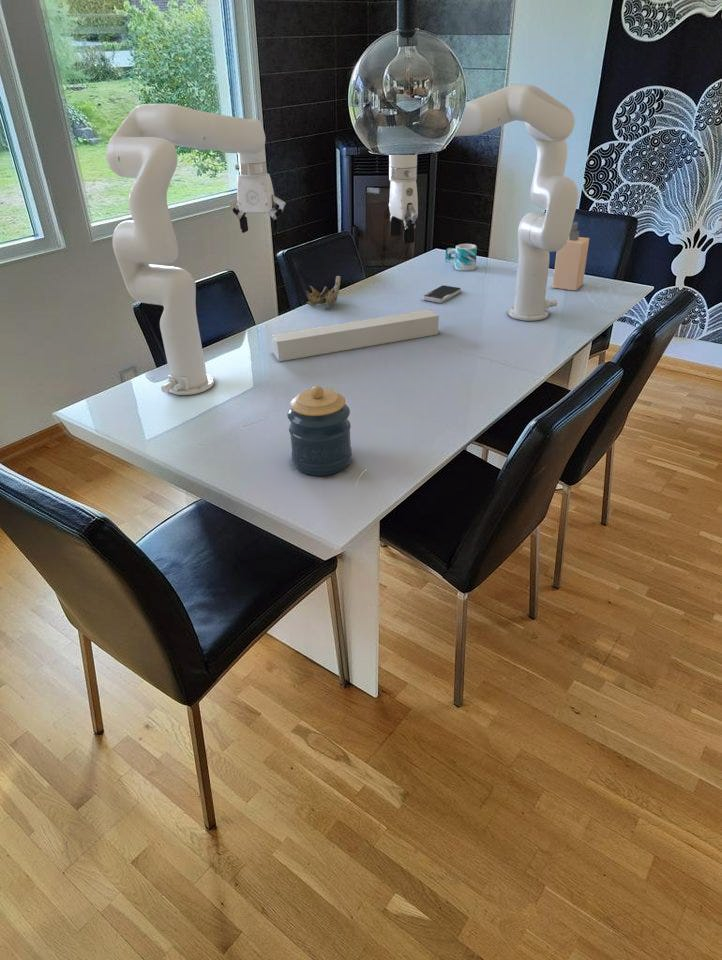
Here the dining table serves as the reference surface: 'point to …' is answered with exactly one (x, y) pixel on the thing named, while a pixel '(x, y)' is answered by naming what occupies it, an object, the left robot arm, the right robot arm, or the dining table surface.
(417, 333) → the beam
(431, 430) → the dining table surface
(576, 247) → the tan upright block
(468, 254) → the mug
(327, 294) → the jawbone
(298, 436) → the canister
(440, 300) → the smartphone
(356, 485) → the dining table surface
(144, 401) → the dining table surface
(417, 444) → the dining table surface
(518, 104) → the right robot arm
